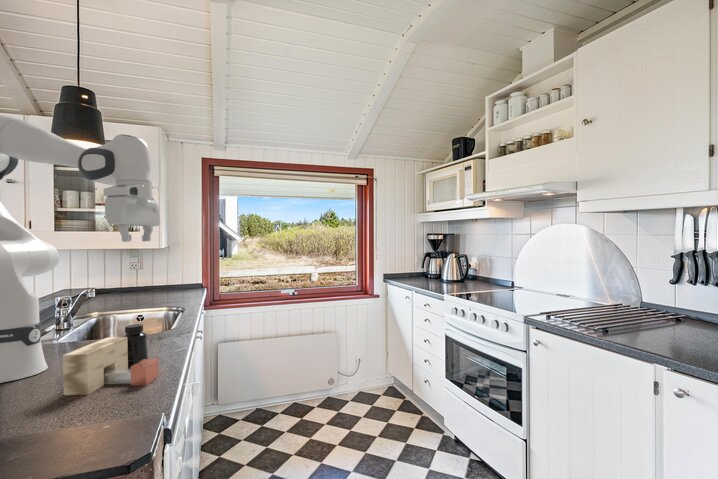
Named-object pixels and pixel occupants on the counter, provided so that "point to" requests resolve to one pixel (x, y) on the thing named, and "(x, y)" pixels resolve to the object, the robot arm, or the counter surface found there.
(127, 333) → the supplement bottle
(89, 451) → the counter surface
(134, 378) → the orange and grey bar
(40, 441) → the counter surface
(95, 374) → the birch block
